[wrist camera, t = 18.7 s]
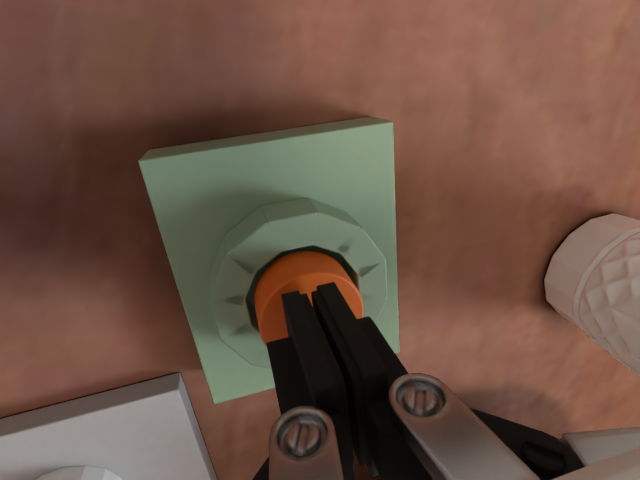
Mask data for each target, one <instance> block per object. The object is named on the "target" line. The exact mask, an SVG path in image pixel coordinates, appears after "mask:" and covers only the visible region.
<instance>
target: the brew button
mask: <svg viewBox="0 0 640 480" xmlns="http://www.w3.org/2000/svg"><path fill="white" fill-rule="evenodd" d="M331 282H335V284H336V285H337V287H338V289H339V290H340V292H341V294H342V295H343V297H344V299H345V300H346V302H347V304H348V305H349V307H350V309H351V310H352V312H353V314H354V315H355V317H356V319H360V318H363V301H362V297H361V295H360V293H359V291H358V289H357V288H356V286H355V285H354V283H353V282H352V280H351V279H350V277H349V276H348V275H347V273H346V272H345V270H344V269H343V267H342V266H341V265H340V264H339V263H338V262H337V261H336V260H335V259H333V258H332V257H330V256H328V255H326V254H323V253H320V252H314V251H301V252H295V253H291V254H288V255H286V256H284V257H282V258H280V259H278V260H277V261H275V262H274V263H273V264H271V265H270V266H269V267H268V268H267V269H266V271H265V272H264V273H263V274H262V276H261V277H260V279H259V281H258V283H257V286H256V289H255V294H254V303H255V310H256V315H257V321H258V326H259V332H260V335H261V338H262V340H263V342H264V344H265V345H266V343H267V342H271V341H275V340H279V339H283V338H286V337H288V331H287V325H286V320H285V314H284V309H283V303H282V297H281V294H284V293H289V292H293V291H297V290H299V292H300V294H305V293H307V295H308V298H309V300H310V302H311V304H312V297H311V292H313V291H317V286H318V285H322V284H327V283H331ZM312 307H313V304H312ZM266 347H267V345H266Z"/></svg>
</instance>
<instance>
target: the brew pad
mask: <svg viewBox="0 0 640 480" xmlns="http://www.w3.org/2000/svg"><path fill="white" fill-rule="evenodd" d="M138 163H139V167H140V170H141V173H142V176H143V179H144V183H145V186H146V189H147V192H148V195H149V199H150V202H151V205H152V208H153V211H154V214H155V218H156V221H157V224H158V227H159V230H160V234H161V237H162V240H163V243H164V246H165V250H166V253H167V256H168V259H169V262H170V266H171V269H172V272H173V275H174V278H175V281H176V285H177V288H178V291H179V294H180V297H181V301H182V304H183V307H184V310H185V313H186V317H187V320H188V323H189V326H190V329H191V332H192V336H193V339H194V342H195V345H196V348H197V352H198V355H199V358H200V361H201V364H202V368H203V371H204V374H205V377H206V380H207V384H208V387H209V390H210V393H211V396H212V399H213V403H214V404H217V403H221V402H225V401H228V400H232V399H235V398H239V397H243V396H246V395H250V394H253V393H257V392H261V391H264V390H268V389H271V388H275V383H274V378H273V373H272V368H271V364H270V359H269V354H268V349H267V347H266V345H265V344H264V342H263V340H262V338H261V335H260V332H259V326H258V321H257V315H256V310H255V303H254V294H255V289H256V286H257V283H258V281H259V279H260V277H261V276H262V274H263V273H264V272H265V271H266V269H267V268H268V267H269V266H270V265H271V264H273V263H274V262H275V261H277V260H278V259H280V258H282V257H284V256H286V255H288V254H291V253H295V252H301V251H314V252H320V253H323V254H326V255H328V256H330V257H332V258H333V259H335V260H336V261H337V262H338V263H339V264H340V265H341V266H342V267H343V269H344V270H345V272H346V273H347V275H348V276H349V277H350V279H351V280H352V282H353V283H354V285H355V286H356V288H357V289H358V291H359V293H360V295H361V297H362V301H363V317H367V316H369V317H371V319H372V320H373V321H374V323H375V324H376V326H377V327H378V329H379V330H380V332H381V333H382V335H383V336H384V338H385V339H386V341H387V342H388V344H389V345H390V347H391V348H392V350H393V351H394V353H395V354H397V353H399V317H398V281H397V246H396V210H395V175H394V139H393V122H392V121H388V120H384V119H379V118H375V117H364V118H357V119H350V120H344V121H337V122H330V123H324V124H317V125H310V126H304V127H297V128H290V129H284V130H277V131H270V132H264V133H257V134H250V135H244V136H237V137H230V138H224V139H217V140H210V141H204V142H197V143H190V144H184V145H177V146H170V147H164V148H157V149H150V150H148V151H147V152H146V153H145V154H144V155H143V156H142V157H141V159H140V160H139V161H138Z"/></svg>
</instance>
